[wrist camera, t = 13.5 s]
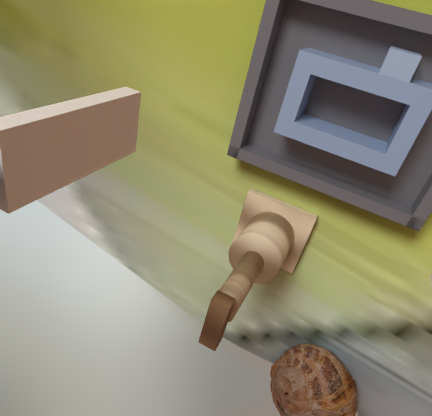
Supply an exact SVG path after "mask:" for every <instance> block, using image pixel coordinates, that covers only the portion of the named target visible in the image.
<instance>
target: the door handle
mask: <svg viewBox="0 0 432 416" xmlns="http://www.w3.org/2000/svg"><path fill="white" fill-rule="evenodd" d="M317 217H318V215H315V214H313V213H310V212H308V211H306V210H303V209H301V208H298V207H296V206H294V205H291V204H289V203H286V202H284V201H282V200H279V199H277V198H275V197H272V196H270V195H267V194H265V193H263V192H260V191H258V190H255V189H253V188H250V190H249V191H248V194H247V197H246V200H245V203H244V207H243V210H242V213H241V217H240V220H239V223H238V226H237V230H236V233H235V236H234V239H233V243H232V245H231V247H230V249H229V260H230V263H231V265H232V267H233V269H234V270H233V271H232V273H231V274H230V275H229V277H228V278H227V280H226V281H225V283H224V284H223V285H222V287H221V288H220V290H218V291H217V292H216V294H215V295H214V296H213V298H212V299H211V302H210V305H209V308H208V312H207V315H206V318H205V322H204V325H203V329H202V332H201V335H200V339H199V342H200V343H201V344H203V345H205V346H206V347H208V348H210V349H212V350H214V351H215V350H216V348H217V347H218V345H219V343H220V341H221V339H222V337H223V334H224V331H225V328H226V325H227V322H230V321H231V320H232V319H233V318H234V316H235V314H236V313H237V311H238V309H239V308H240V306H241V304H242V302H243V301H244V299H245V297H246V295H247V294H248V292H249V290H250V289H251V287H252V285H253V283H266V282H269V281H271V280H273V279H274V278H275V277H276V276H277V274H278V272H279V270H280V268H281V269H283V270H285V271H287V272H289V273H291V274H292V273H293V271H294V268H295V266H296V264H297V262H298V260H299V257H300V255H301V253H302V251H303V248H304V246H305V244H306V242H307V239H308V237H309V235H310V233H311V230H312V228H313V226H314V224H315V221H316V219H317Z"/></svg>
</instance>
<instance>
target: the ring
mask: <svg viewBox="0 0 432 416" xmlns="http://www.w3.org/2000/svg"><path fill="white" fill-rule="evenodd" d="M421 58H422V56H421V54H420V53H416V52H412V51H409V50H405V49H402V48H398V47H394V46H391V47H390V49H389V51H388V53H387V56H386V58H385V60H384V63H383V65H382V67H381V68H377V67H374V66H370V65H367V64H364V63H360V62H357V61H353V60H350V59H347V58H343V57H340V56H336V55H333V54H330V53H326V52H323V51H319V50H316V49H313V48H305V49H301V50H299V53H298V56H297V59H296V62H295V65H294V69H293V72H292V75H291V78H290V81H289V84H288V88H287V91H286V94H285V97H284V100H283V103H282V106H281V110H280V113H279V116H278V119H277V122H276V125H275V129H274V132H275V133H278V134H281V135H283V136H286V137H289V138H291V139H294V140H297V141H300V142H302V143H305V144H308V145H311V146H313V147H316V148H319V149H321V150H324V151H327V152H330V153H332V154H335V155H338V156H340V157H343V158H346V159H349V160H351V161H354V162H357V163H359V164H362V165H365V166H368V167H370V168H373V169H376V170H379V171H381V172H384V173H387V174H389V175H392V176H396V174H397V172H398V170H399V169H400V167H401V165H402V163H403V161H404V160H405V158H406V156H407V154H408V152H409V150H410V149H411V147H412V145H413V143H414V141H415V139H416V138H417V136H418V134H419V132H420V130H421V128H422V127H423V125H424V123H425V121H426V119H427V117H428V116H429V114H430V112H431V110H432V83H428V82H425V81H421V80H418V79H415V78H412V76H413V74H414V72H415V70H416V68H417V66H418V64H419V62H420V60H421ZM317 76H318V77H321V78H324V79H328V80H331V81H334V82H337V83H340V84H343V85H347V86H350V87H353V88H356V89H359V90H363V91H366V92H369V93H372V94H375V95H379V96H382V97H385V98H388V99H391V100H394V101H398V102H401V103H404V104H406V106H405V108H404V110H403V112H402V114H401V116H400V118H399V120H398V122H397V124H396V126H395V128H394V130H393V132H392V134H391V136H390V138H389V140H388V142H385V141H382V140H379V139H376V138H373V137H370V136H367V135H364V134H361V133H359V132H356V131H353V130H350V129H347V128H344V127H341V126H338V125H335V124H333V123H330V122H327V121H324V120H321V119H318V118H315V117H312V116H309V115H306V114H304V110H305V108H306V105H307V102H308V99H309V96H310V94H311V91H312V88H313V85H314V82H315V79H316V77H317Z"/></svg>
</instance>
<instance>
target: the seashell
mask: <svg viewBox="0 0 432 416" xmlns="http://www.w3.org/2000/svg"><path fill="white" fill-rule="evenodd" d="M270 375H271V378H272V379H271V392H272V397H273V401H274V403H275V405H276V408H277V409H278V411H279V413H280V415H281V416H355V414H356V411H357V406H358V398H357V389H356V383H355V381H354V380H353V379H352V377H351V375H350V373H349V371H348V370H347V369H346V367H345V366H344V364H343V363H342V362H341V361H340V359H339V358H338V357H337V356H336V355H335V354H333V353H332V352H331V351H329V350H328V349H326V348H323V347H320V346H317V345H313V344H308V343H305V344H299V345H296V346H294V347H291V348H290V349H288V350H287V351H285V352H284V354H283V355H282V356H281V357H280V358H279V359H277V360H276V362H275V363H274V364H273V365H272V367H271V374H270Z"/></svg>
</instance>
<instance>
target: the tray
mask: <svg viewBox="0 0 432 416" xmlns="http://www.w3.org/2000/svg"><path fill="white" fill-rule="evenodd" d="M391 46H394V47H398V48H402V49H405V50H409V51H412V52H416V53H420V54H421V56H422V58H421V60H420V62H419V64H418V66H417V68H416V70H415V72H414V74H413V76H412V78H415V79H418V80H421V81H425V82H428V83H432V15H428V14H424V13H420V12H416V11H412V10H408V9H404V8H400V7H396V6H392V5H388V4H384V3H380V2H376V1H371V0H266V3H265V7H264V11H263V14H262V18H261V22H260V26H259V30H258V34H257V38H256V42H255V46H254V50H253V54H252V58H251V62H250V66H249V70H248V74H247V78H246V82H245V86H244V90H243V93H242V97H241V101H240V105H239V109H238V113H237V117H236V121H235V125H234V129H233V133H232V137H231V141H230V145H229V149H228V153H227V155H229V156H232V157H234V158H237V159H239V160H242V161H244V162H247V163H249V164H252V165H254V166H257V167H259V168H262V169H264V170H267V171H269V172H272V173H274V174H277V175H279V176H282V177H284V178H287V179H289V180H292V181H294V182H297V183H299V184H302V185H304V186H307V187H309V188H312V189H314V190H317V191H319V192H322V193H324V194H327V195H329V196H332V197H334V198H337V199H339V200H342V201H344V202H347V203H349V204H352V205H354V206H357V207H359V208H362V209H364V210H367V211H369V212H372V213H374V214H377V215H379V216H382V217H384V218H387V219H389V220H392V221H394V222H397V223H399V224H402V225H404V226H407V227H409V228H412V229H414V230H417V231H419V230H420V229H421V227H422V226H423V224H424V223H425V221H426V220H427V218H428V216H429V215H430V213H431V212H432V110H431V112H430V114H429V116H428V117H427V119H426V121H425V123H424V125H423V127H422V128H421V130H420V132H419V134H418V136H417V138H416V139H415V141H414V143H413V145H412V147H411V149H410V150H409V152H408V154H407V156H406V158H405V160H404V161H403V163H402V165H401V167H400V169H399V170H398V172H397V174H396V176H392V175H389V174H387V173H384V172H381V171H379V170H376V169H373V168H370V167H368V166H365V165H362V164H359V163H357V162H354V161H351V160H349V159H346V158H343V157H340V156H338V155H335V154H332V153H330V152H327V151H324V150H321V149H319V148H316V147H313V146H311V145H308V144H305V143H302V142H300V141H297V140H294V139H291V138H289V137H286V136H283V135H281V134H278V133H275V132H274V129H275V125H276V122H277V119H278V116H279V113H280V110H281V106H282V103H283V100H284V97H285V94H286V91H287V88H288V84H289V81H290V78H291V75H292V72H293V69H294V65H295V62H296V59H297V56H298V53H299V50H301V49H305V48H313V49H316V50H319V51H323V52H326V53H330V54H333V55H336V56H340V57H343V58H347V59H350V60H353V61H357V62H360V63H364V64H367V65H370V66H374V67H377V68H381V67H382V65H383V63H384V60H385V58H386V56H387V53H388V51H389V49H390V47H391ZM405 106H406V104H404V103H401V102H398V101H394V100H391V99H388V98H385V97H382V96H379V95H375V94H372V93H369V92H366V91H363V90H359V89H356V88H353V87H350V86H347V85H343V84H340V83H337V82H334V81H331V80H328V79H324V78H321V77H318V76H317V77H316V79H315V82H314V85H313V88H312V91H311V94H310V96H309V99H308V102H307V105H306V108H305V110H304V114H306V115H309V116H312V117H315V118H318V119H321V120H324V121H327V122H330V123H333V124H335V125H338V126H341V127H344V128H347V129H350V130H353V131H356V132H359V133H361V134H364V135H367V136H370V137H373V138H376V139H379V140H382V141H385V142H388V140H389V138H390V136H391V134H392V132H393V130H394V128H395V126H396V124H397V122H398V120H399V118H400V116H401V114H402V112H403V110H404V108H405Z"/></svg>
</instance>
